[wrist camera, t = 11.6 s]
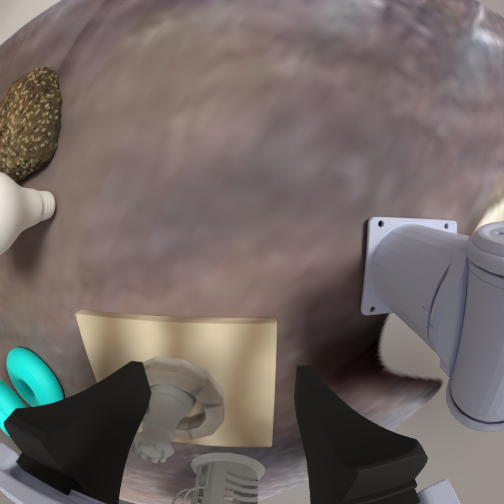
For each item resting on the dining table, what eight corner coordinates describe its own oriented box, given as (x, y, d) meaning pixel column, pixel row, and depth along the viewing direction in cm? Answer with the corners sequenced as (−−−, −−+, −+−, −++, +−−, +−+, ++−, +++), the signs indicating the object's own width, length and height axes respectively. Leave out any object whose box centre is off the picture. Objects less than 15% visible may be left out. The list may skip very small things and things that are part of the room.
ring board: (275, 317, 21) (279, 336, 18) (271, 440, 24) (272, 460, 22) (81, 309, 21) (63, 322, 18) (121, 425, 25) (113, 441, 22)
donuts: (-36, 377, 13) (-10, 386, 13) (6, 344, 23) (41, 342, 23) (6, 440, 15) (45, 458, 15) (39, 402, 25) (80, 408, 25)
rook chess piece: (150, 366, 21) (116, 428, 13) (199, 378, 21) (179, 447, 14) (152, 400, 22) (126, 459, 14) (196, 410, 22) (180, 475, 14)
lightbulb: (63, 249, 20) (-26, 285, 9) (26, 219, 20) (-57, 240, 9) (83, 187, 19) (-18, 193, 8) (43, 162, 18) (-46, 159, 8)
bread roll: (62, 171, 19) (26, 170, 14) (-5, 192, 19) (-35, 195, 14) (75, 52, 16) (48, 34, 11) (5, 91, 16) (-21, 84, 12)
